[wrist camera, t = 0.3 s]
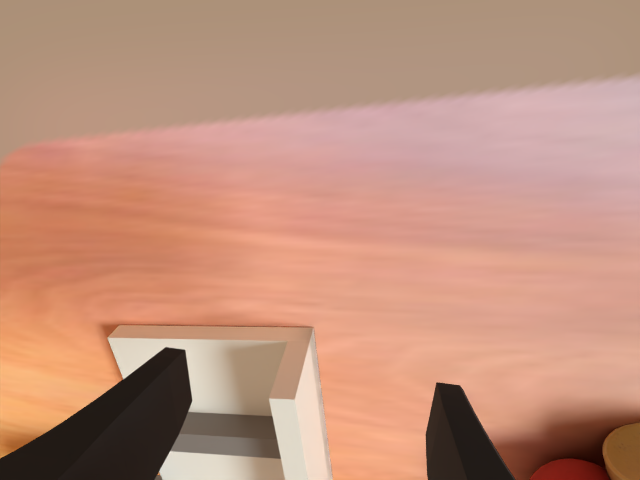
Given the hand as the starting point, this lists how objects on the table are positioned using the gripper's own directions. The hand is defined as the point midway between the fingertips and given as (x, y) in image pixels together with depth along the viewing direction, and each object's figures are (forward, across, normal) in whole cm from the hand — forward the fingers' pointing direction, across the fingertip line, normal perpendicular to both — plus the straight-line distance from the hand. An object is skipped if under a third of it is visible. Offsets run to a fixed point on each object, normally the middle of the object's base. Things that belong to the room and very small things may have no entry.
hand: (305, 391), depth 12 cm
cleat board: (+10, +6, +13) cm, 17 cm away
